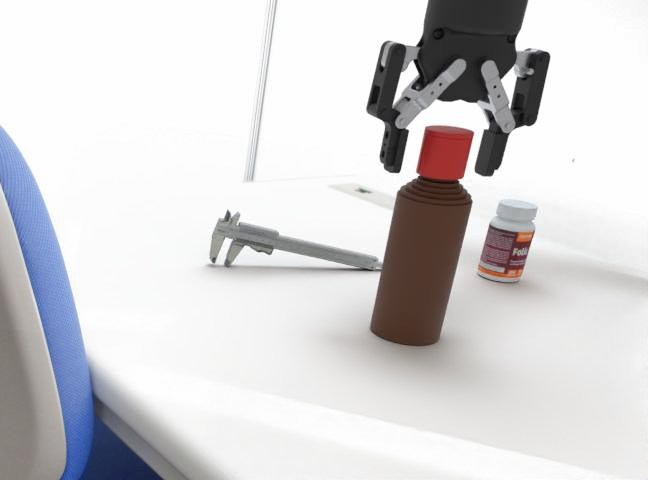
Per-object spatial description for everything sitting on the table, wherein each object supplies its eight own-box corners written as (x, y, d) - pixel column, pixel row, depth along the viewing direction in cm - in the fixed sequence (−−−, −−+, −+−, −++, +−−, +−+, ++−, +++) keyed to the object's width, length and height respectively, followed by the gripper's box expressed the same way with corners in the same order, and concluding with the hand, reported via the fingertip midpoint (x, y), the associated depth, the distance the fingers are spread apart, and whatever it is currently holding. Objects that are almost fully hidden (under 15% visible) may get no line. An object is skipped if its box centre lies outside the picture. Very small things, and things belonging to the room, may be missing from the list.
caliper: (210, 266, 97) (216, 211, 94) (208, 263, 98) (214, 208, 95) (386, 271, 99) (398, 216, 96) (383, 267, 100) (394, 213, 97)
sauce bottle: (424, 319, 86) (468, 132, 77) (450, 346, 80) (500, 147, 72) (361, 318, 85) (398, 129, 77) (382, 344, 80) (425, 144, 71)
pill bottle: (511, 286, 97) (533, 211, 93) (469, 274, 99) (489, 202, 95) (526, 277, 100) (548, 204, 96) (485, 266, 103) (505, 195, 99)
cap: (426, 179, 74) (436, 133, 72) (407, 168, 77) (416, 124, 76) (471, 180, 74) (482, 135, 73) (450, 169, 78) (461, 125, 76)
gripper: (419, -38, 65) (376, 181, 72) (596, -27, 66) (536, 186, 74) (381, -40, 71) (345, 161, 79) (543, -30, 73) (492, 166, 81)
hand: (437, 173), depth 76 cm, fingers open, 8 cm apart
